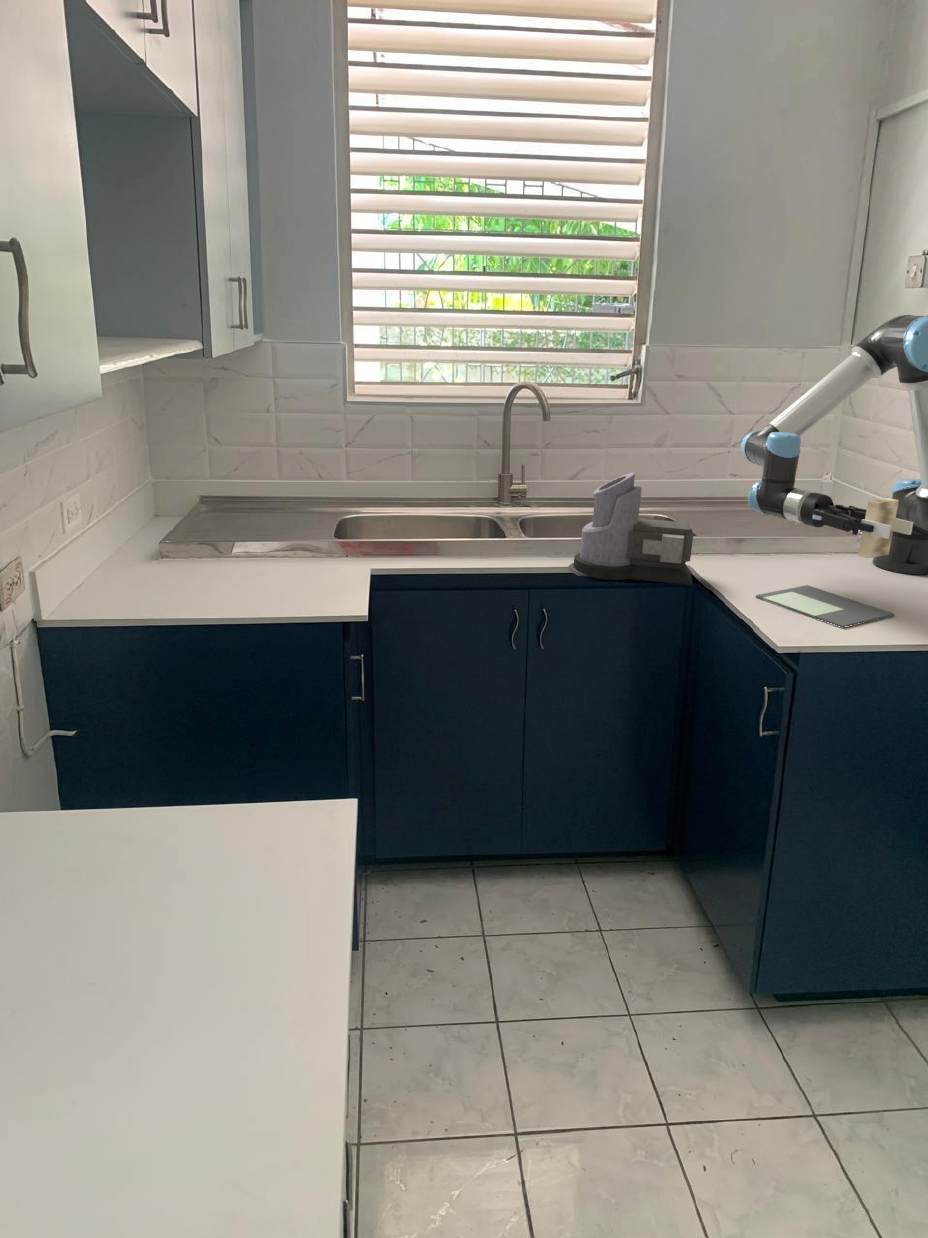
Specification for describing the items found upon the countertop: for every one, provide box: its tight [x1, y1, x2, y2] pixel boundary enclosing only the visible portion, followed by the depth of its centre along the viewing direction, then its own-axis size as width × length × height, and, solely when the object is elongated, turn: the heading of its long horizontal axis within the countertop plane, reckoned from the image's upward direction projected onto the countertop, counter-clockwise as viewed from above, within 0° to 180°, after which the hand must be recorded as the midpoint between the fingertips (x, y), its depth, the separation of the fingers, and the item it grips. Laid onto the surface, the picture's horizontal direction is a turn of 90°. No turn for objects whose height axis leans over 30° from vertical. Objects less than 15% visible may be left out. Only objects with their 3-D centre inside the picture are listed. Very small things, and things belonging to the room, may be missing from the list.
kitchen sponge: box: [858, 497, 899, 559], centre depth 200 cm, size 7×3×12 cm, turn 123°
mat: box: [755, 584, 895, 627], centre depth 208 cm, size 18×23×1 cm
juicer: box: [567, 472, 694, 586], centre depth 225 cm, size 30×16×24 cm, turn 79°
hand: (900, 530), depth 196 cm, fingers closed on kitchen sponge, 7 cm apart
